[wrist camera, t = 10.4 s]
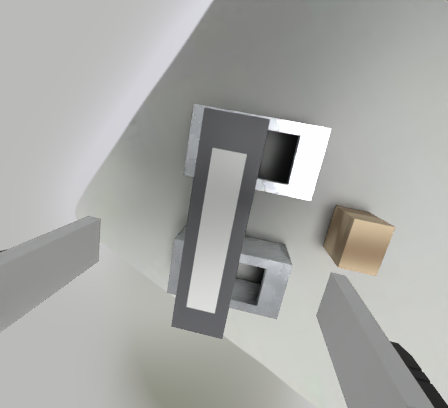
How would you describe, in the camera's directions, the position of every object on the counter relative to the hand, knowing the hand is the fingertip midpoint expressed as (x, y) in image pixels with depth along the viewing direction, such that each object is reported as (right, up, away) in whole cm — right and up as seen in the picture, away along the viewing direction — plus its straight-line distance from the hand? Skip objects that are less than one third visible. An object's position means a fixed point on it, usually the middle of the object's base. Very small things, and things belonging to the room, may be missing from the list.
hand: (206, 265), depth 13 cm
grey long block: (+1, +3, +13) cm, 13 cm away
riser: (+15, +1, +14) cm, 20 cm away
